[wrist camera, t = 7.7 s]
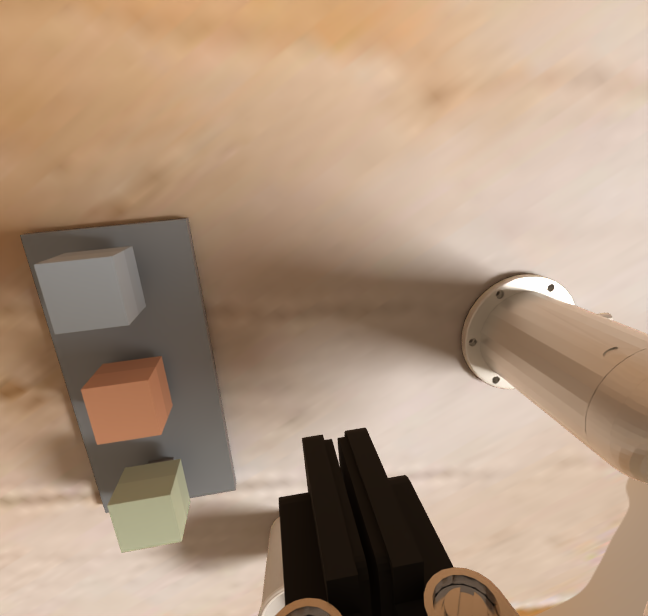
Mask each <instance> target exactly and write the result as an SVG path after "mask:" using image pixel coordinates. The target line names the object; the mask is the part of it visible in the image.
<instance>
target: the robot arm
mask: <svg viewBox="0 0 648 616" xmlns="http://www.w3.org/2000/svg"><path fill="white" fill-rule="evenodd" d="M461 343H462V351H463V355H464V358H465V361H466V363H467V364H468V366H469V368H470V369H471V371H472V372H473V373H474V374H475V375H476V376H478V377H479V378H480V379H481V380H483V381H484V382H485V383H487V384H489V385H491V386H493V387H497V388H502V389H517V390H518V391H519V392H521V393H522V394H523V395H524V396H526V397H527V398H528V399H529V400H531V401H532V402H533V403H534V404H535V405H537V406H538V407H539V408H540V409H542V410H543V411H544V412H545V413H547V414H548V415H549V416H550V417H552V418H553V419H554V420H555V421H557V422H558V423H559V424H560V425H561V426H563V427H564V428H565V429H566V430H568V431H569V432H570V433H571V434H573V435H574V436H575V437H576V438H578V439H579V440H580V441H581V442H583V443H584V444H585V445H586V446H587V447H589V448H590V449H591V450H592V451H594V452H595V453H596V454H597V455H599V456H600V457H601V458H602V459H603V460H605V461H606V462H607V463H608V464H610V465H611V466H612V467H614V468H615V469H617V470H618V471H619V472H621V473H623V474H625V475H627V476H628V477H630V478H632V479H635V480H637V481H640V482H643V483H646V484H648V334H646V333H644V332H641V331H639V330H636V329H634V328H631V327H628V326H626V325H623V324H621V323H618V322H616V321H613V319H612V316H611V315H610V314H609V313H599V314H595V313H593V312H590V311H588V310H585V309H583V308H580V307H578V306H575V303H574V301H573V299H572V297H571V295H570V294H569V293H568V291H567V290H566V289H565V288H564V287H563V286H561V285H560V284H559V283H558V282H556V281H554V280H551V279H549V278H546V277H543V276H539V275H533V274H523V275H515V276H512V277H509V278H506V279H504V280H502V281H500V282H498V283H496V284H494V285H493V286H492V287H490V288H489V289H488V290H486V291H485V292H484V293H483V294H482V295H481V296H480V297H479V298H478V300H477V301H476V302H475V304H474V305H473V307H472V308H471V310H470V311H469V313H468V316H467V318H466V320H465V323H464V327H463V331H462V342H461ZM302 443H303V452H304V460H305V469H306V477H307V486H308V493H302V494H296V495H291V496H285V497H280V498H279V513H280V530H281V546H282V563H283V579H284V595H285V607H283V608H282V609H281V610H280V611H279V612H278V613H277V614H276V615H275V616H519V615H518V613H517V612H516V611H515V609H514V608H513V607H512V606H511V604H510V603H509V602H508V600H507V599H506V598H505V596H504V595H503V594H502V592H501V591H500V590H499V589H498V588H497V587H496V586H495V585H494V584H493V583H492V582H491V581H490V580H489V579H487V578H486V577H484V576H483V575H481V574H480V573H478V572H475V571H472V570H469V569H466V568H456V567H453V565H452V563H451V561H450V559H449V557H448V555H447V553H446V551H445V549H444V547H443V545H442V543H441V541H440V539H439V537H438V535H437V533H436V531H435V529H434V527H433V526H432V524H431V522H430V520H429V518H428V516H427V514H426V512H425V510H424V508H423V506H422V504H421V502H420V500H419V498H418V496H417V494H416V492H415V490H414V488H413V486H412V484H411V482H410V480H409V478H408V477H407V476H406V475H403V476H397V477H391V478H388V477H387V475H386V473H385V470H384V468H383V466H382V463H381V461H380V459H379V457H378V454H377V452H376V450H375V447H374V445H373V443H372V440H371V438H370V436H369V433H368V431H367V429H366V428H360V429H354V430H348V431H345V437H341V438H338V451H339V462H340V466H339V463H338V459H337V456H336V452H335V449H334V445H333V442H332V439H329V440H324V437H323V435H317V436H311V437H305V438H302ZM643 616H648V601H647V604H646V607H645V610H644V614H643Z"/></svg>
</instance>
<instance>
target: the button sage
mask: <svg viewBox="0 0 648 616" xmlns="http://www.w3.org/2000/svg"><path fill="white" fill-rule="evenodd" d="M189 506H190V498H189V493H188V489H187V484H186V480H185V476H184V471H183V467H182V462H181V459H175V460H169V461H163V462H157V463H151V464H145V465H139V466H133V467H126V468H125V469H124V471H123V473H122V475H121V477H120V479H119V482H118V484H117V486H116V488H115V490H114V492H113V494H112V497H111V499H110V501H109V503H108V505H107V507H108V510H109V513H110V517H111V520H112V523H113V526H114V530H115V533H116V536H117V540H118V543H119V546H120V549H121V553H124V552H129V551H134V550H140V549H145V548H151V547H156V546H161V545H167V544H172V543H177V542H182V539H183V534H184V529H185V525H186V520H187V515H188V511H189Z"/></svg>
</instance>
